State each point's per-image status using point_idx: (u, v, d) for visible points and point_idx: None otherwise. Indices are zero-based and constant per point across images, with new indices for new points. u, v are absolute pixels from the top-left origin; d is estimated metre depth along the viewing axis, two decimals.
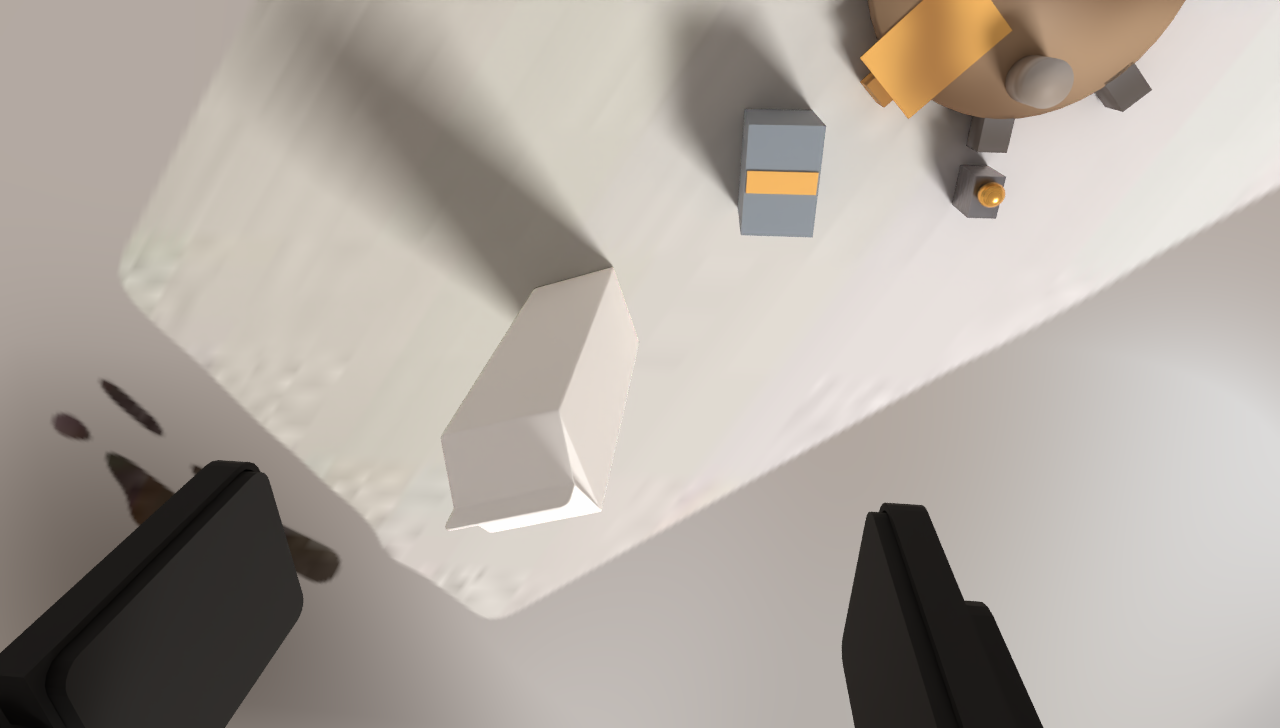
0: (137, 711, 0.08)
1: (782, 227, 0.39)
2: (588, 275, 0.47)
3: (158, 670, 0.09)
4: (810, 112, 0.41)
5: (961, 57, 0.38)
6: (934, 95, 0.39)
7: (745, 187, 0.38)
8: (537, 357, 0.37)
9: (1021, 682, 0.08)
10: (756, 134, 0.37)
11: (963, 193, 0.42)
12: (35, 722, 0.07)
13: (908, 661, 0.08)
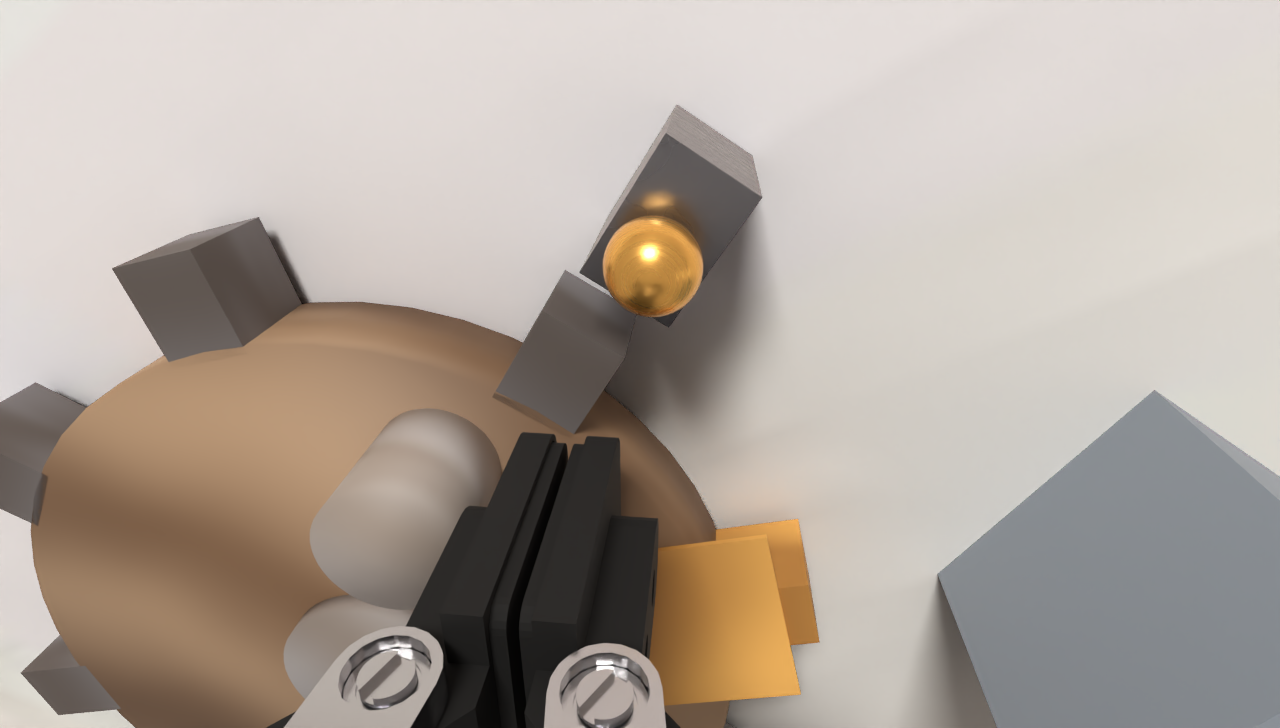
0: None
1: None
2: None
3: None
4: None
5: None
6: (678, 547, 0.14)
7: None
8: None
9: (649, 575, 0.09)
10: None
11: None
12: (474, 659, 0.08)
13: None
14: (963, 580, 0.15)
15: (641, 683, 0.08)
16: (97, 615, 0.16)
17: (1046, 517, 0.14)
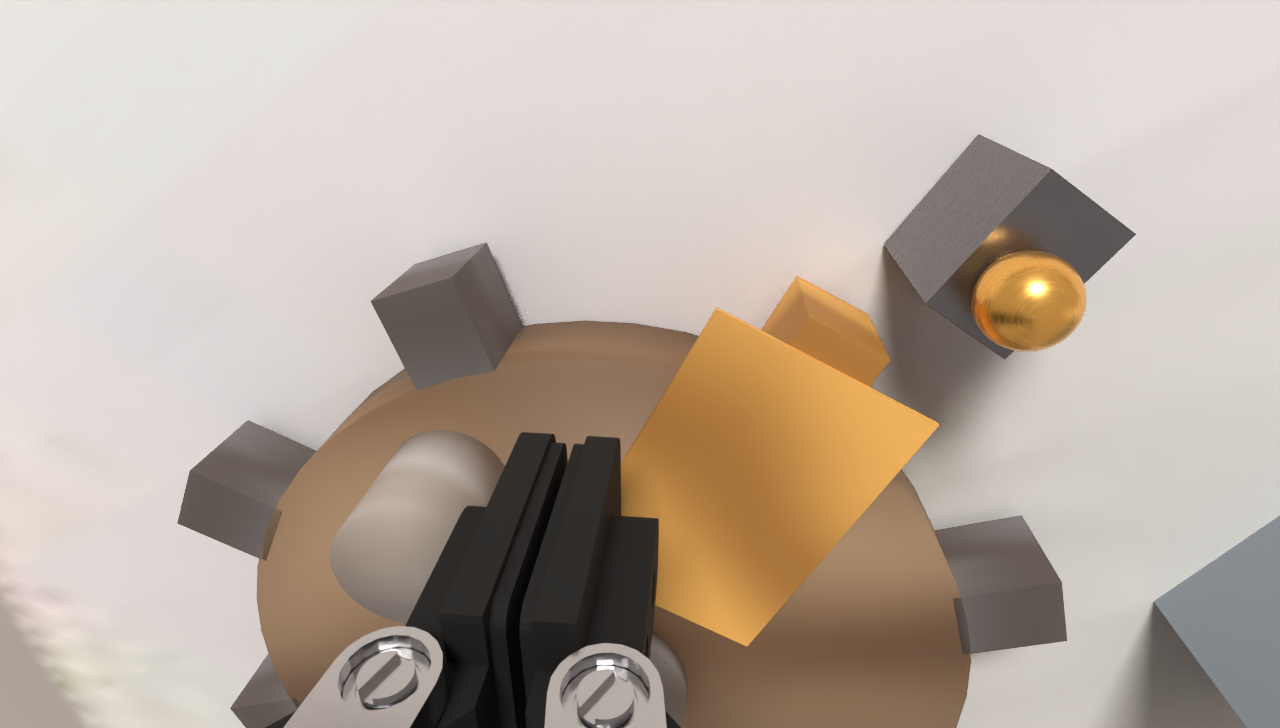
0: None
1: None
2: None
3: None
4: None
5: (647, 484, 0.13)
6: (670, 388, 0.12)
7: None
8: None
9: (649, 575, 0.09)
10: None
11: None
12: (474, 659, 0.08)
13: None
14: (1192, 610, 0.16)
15: (642, 683, 0.08)
16: None
17: None
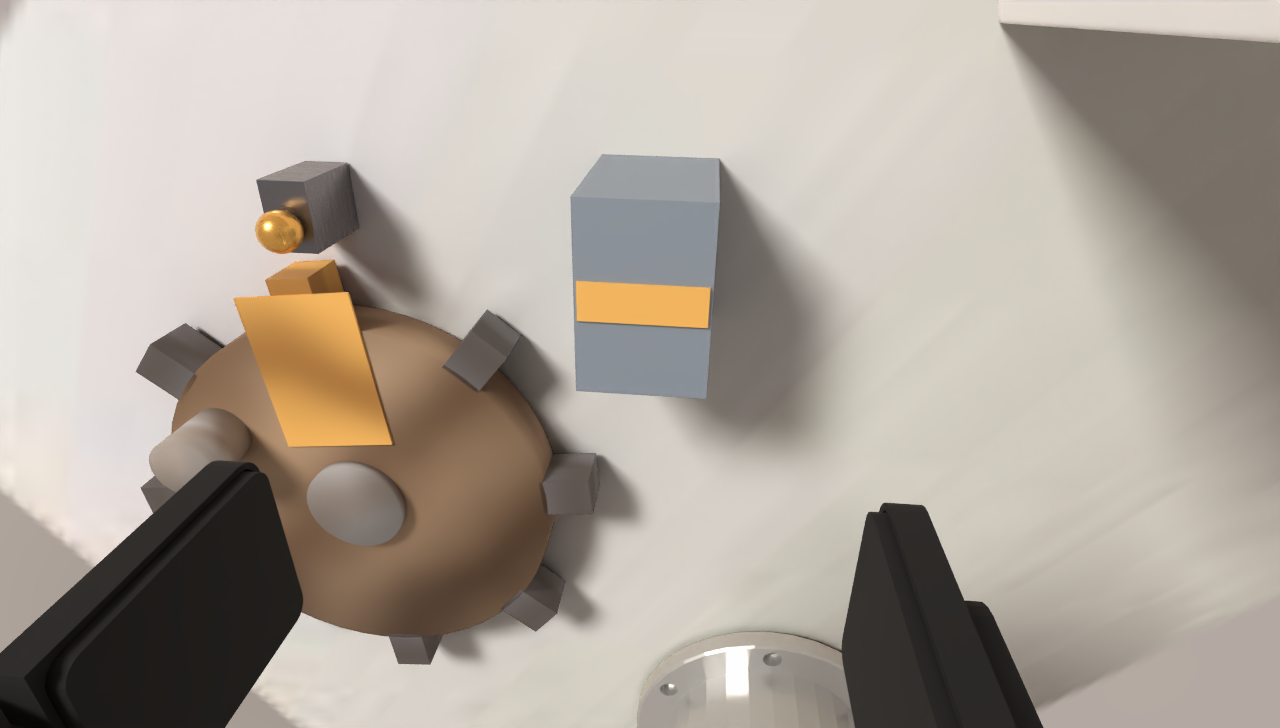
0: (137, 711, 0.08)
1: (633, 218, 0.19)
2: None
3: (158, 670, 0.09)
4: None
5: (285, 388, 0.27)
6: (252, 340, 0.26)
7: (711, 298, 0.20)
8: None
9: (1021, 682, 0.08)
10: (692, 383, 0.21)
11: (332, 202, 0.24)
12: (35, 722, 0.07)
13: (908, 661, 0.08)
14: None
15: None
16: (349, 611, 0.32)
17: None
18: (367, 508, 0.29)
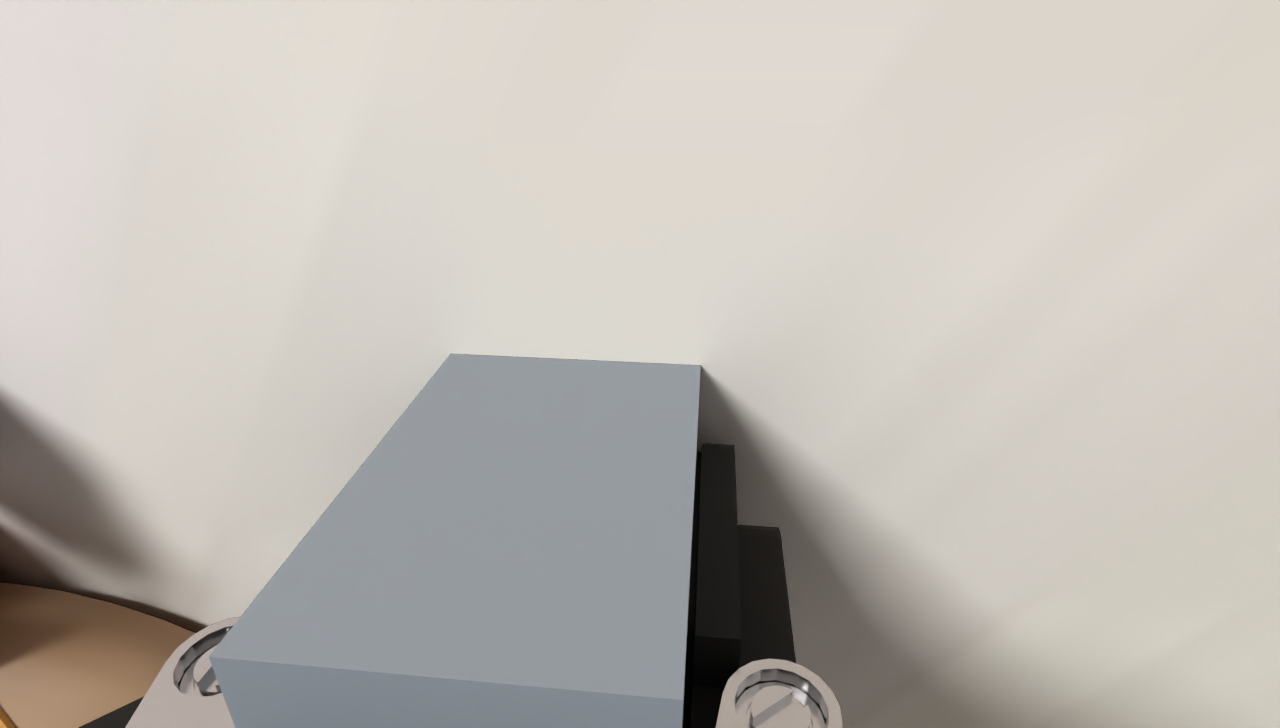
0: None
1: (413, 716, 0.06)
2: None
3: None
4: None
5: None
6: None
7: None
8: None
9: (785, 587, 0.09)
10: None
11: None
12: None
13: None
14: None
15: (811, 700, 0.07)
16: None
17: None
18: None
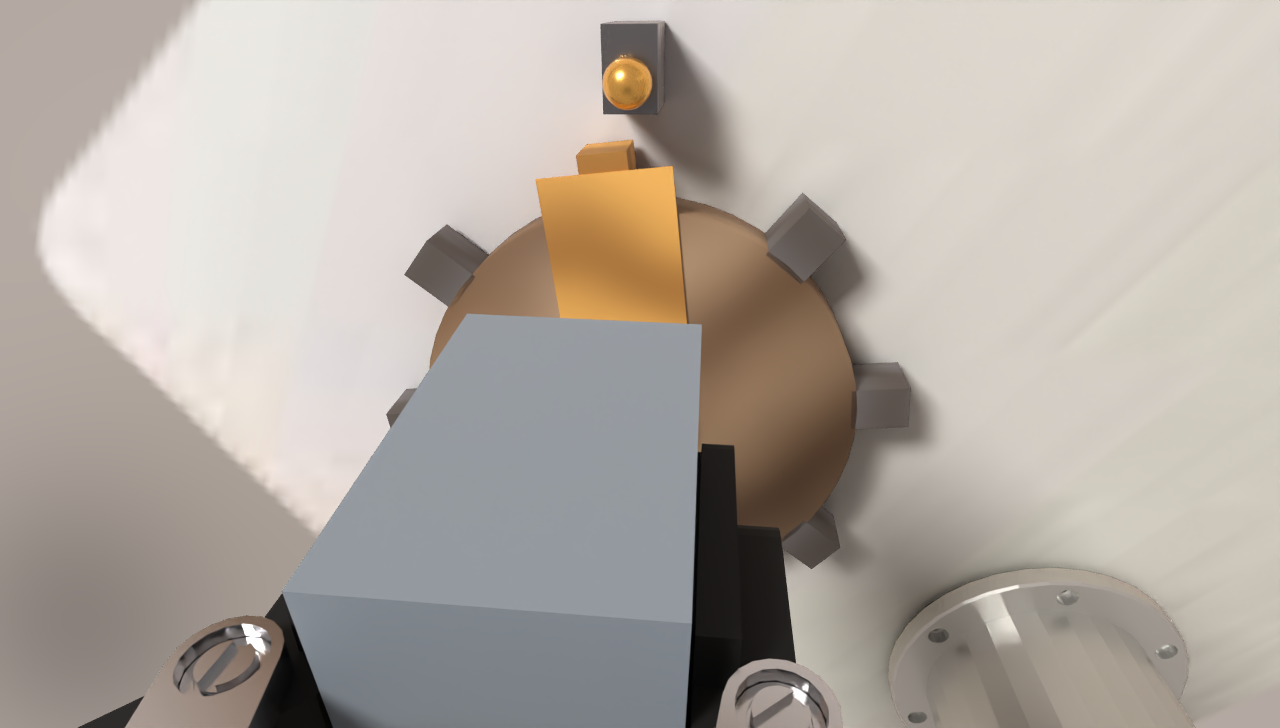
0: None
1: (459, 639, 0.07)
2: None
3: None
4: None
5: (575, 288, 0.24)
6: (547, 231, 0.23)
7: None
8: None
9: (785, 587, 0.09)
10: None
11: (661, 60, 0.21)
12: None
13: None
14: None
15: (811, 700, 0.07)
16: None
17: None
18: None
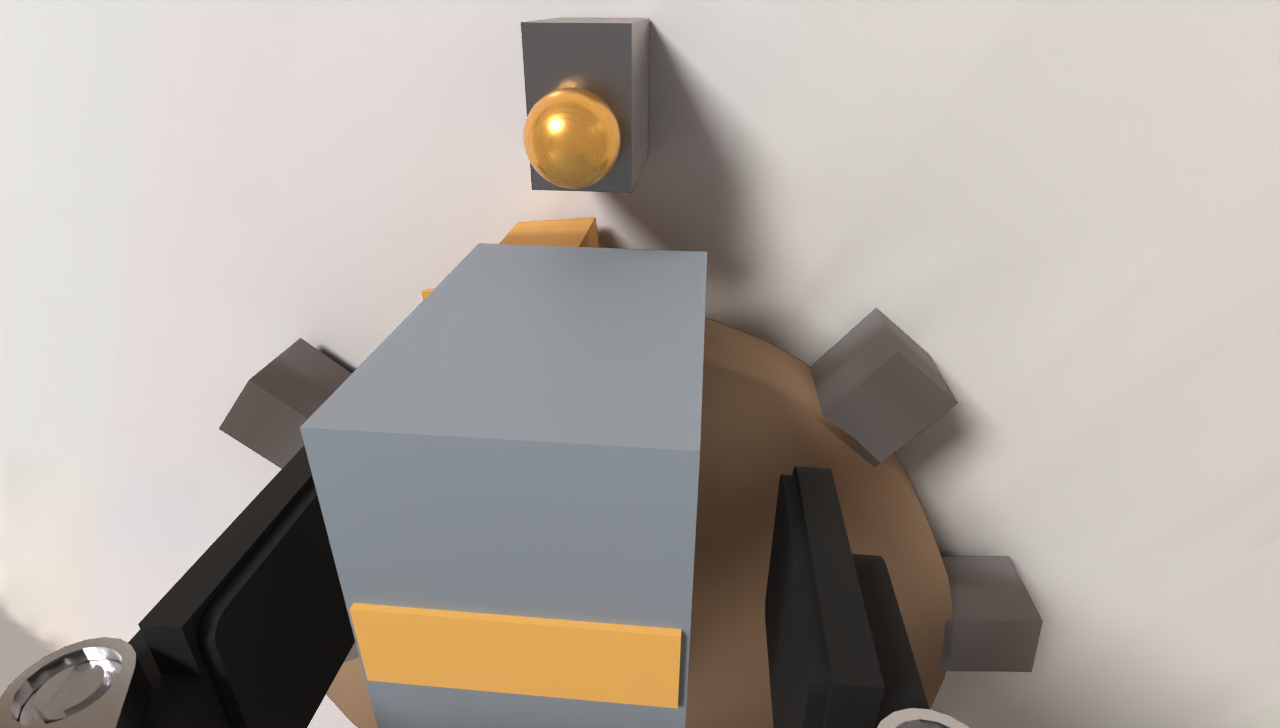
0: (266, 666, 0.09)
1: (471, 479, 0.07)
2: None
3: (281, 629, 0.09)
4: None
5: None
6: None
7: (683, 650, 0.08)
8: None
9: (902, 623, 0.09)
10: None
11: (641, 90, 0.12)
12: (185, 671, 0.08)
13: (795, 602, 0.08)
14: None
15: None
16: None
17: None
18: None
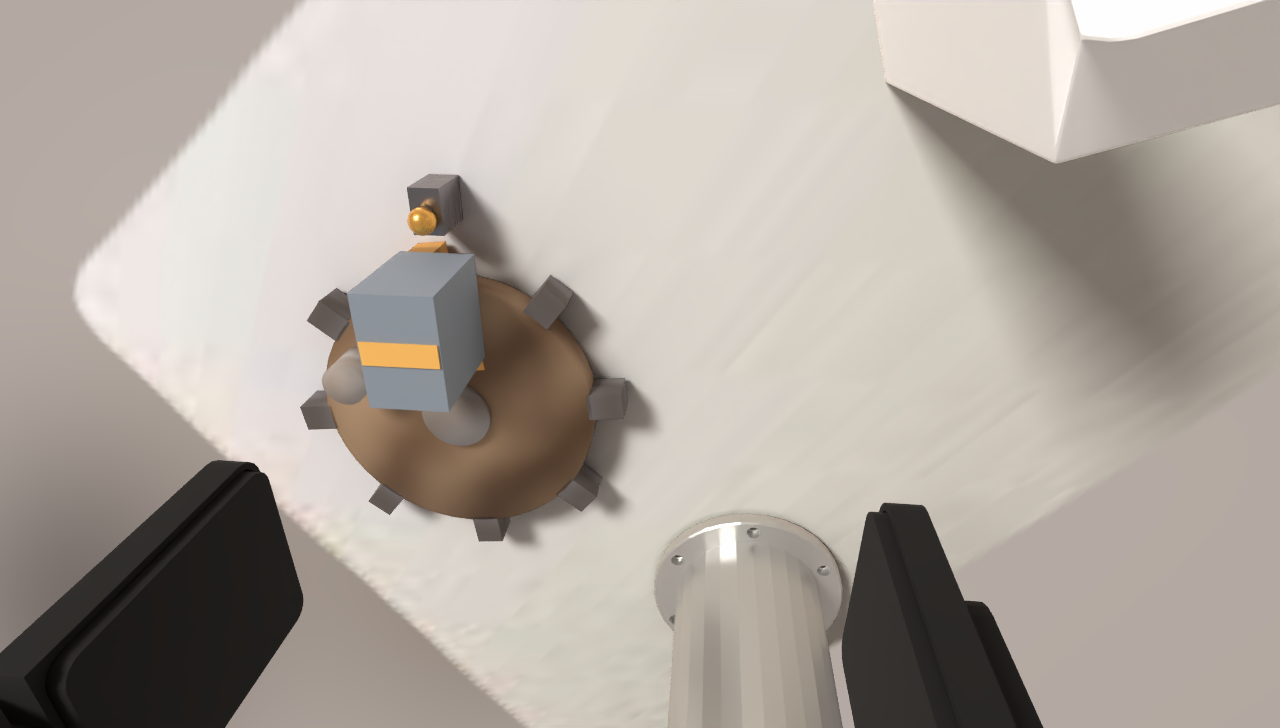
0: (137, 711, 0.08)
1: (385, 305, 0.32)
2: None
3: (158, 670, 0.09)
4: None
5: None
6: None
7: (438, 351, 0.32)
8: None
9: (1021, 682, 0.08)
10: (438, 402, 0.34)
11: (450, 202, 0.36)
12: (35, 722, 0.07)
13: (908, 661, 0.08)
14: None
15: None
16: (445, 499, 0.45)
17: None
18: (464, 417, 0.41)
